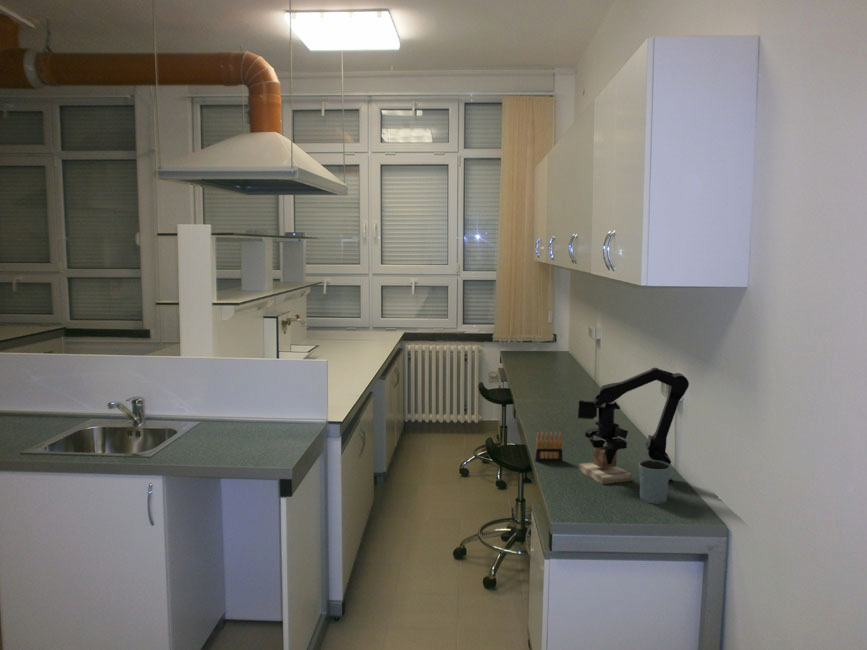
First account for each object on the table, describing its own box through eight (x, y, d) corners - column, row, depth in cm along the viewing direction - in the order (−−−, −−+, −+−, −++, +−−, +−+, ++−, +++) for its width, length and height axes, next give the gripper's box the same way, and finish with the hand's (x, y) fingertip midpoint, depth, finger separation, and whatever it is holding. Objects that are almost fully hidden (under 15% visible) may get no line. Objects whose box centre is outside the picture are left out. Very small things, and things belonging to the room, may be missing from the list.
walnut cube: (616, 466, 247) (616, 450, 247) (602, 468, 245) (602, 452, 245) (606, 461, 253) (607, 446, 252) (593, 463, 251) (593, 447, 250)
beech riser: (631, 480, 244) (631, 473, 244) (602, 484, 240) (602, 477, 240) (605, 467, 259) (606, 460, 259) (578, 470, 255) (578, 463, 255)
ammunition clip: (535, 461, 266) (536, 431, 264) (534, 460, 267) (535, 430, 266) (562, 461, 266) (563, 431, 265) (561, 460, 268) (562, 430, 266)
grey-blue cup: (662, 493, 231) (664, 459, 230) (674, 504, 221) (675, 469, 220) (633, 493, 231) (634, 459, 229) (643, 504, 221) (645, 469, 219)
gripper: (640, 424, 241) (638, 466, 243) (610, 412, 259) (609, 452, 260) (613, 426, 238) (612, 470, 239) (585, 414, 255) (583, 455, 257)
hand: (604, 461), depth 249 cm, fingers closed on walnut cube, 6 cm apart
